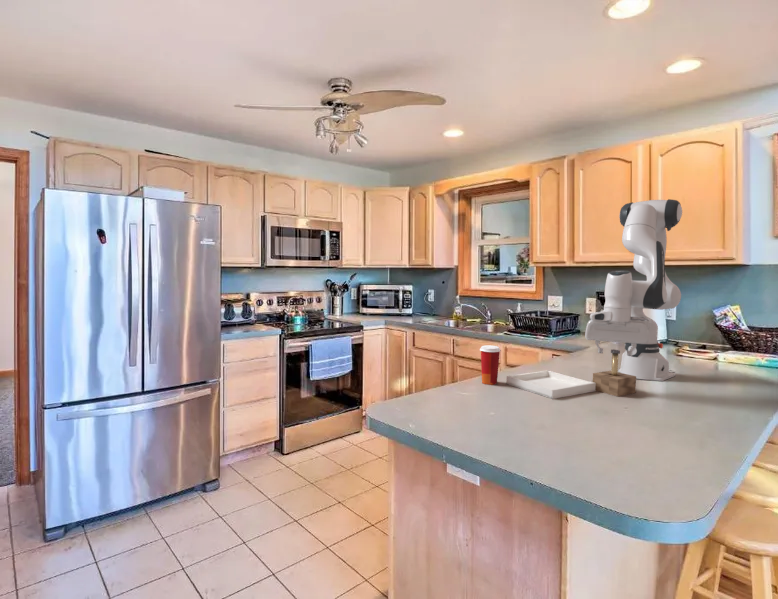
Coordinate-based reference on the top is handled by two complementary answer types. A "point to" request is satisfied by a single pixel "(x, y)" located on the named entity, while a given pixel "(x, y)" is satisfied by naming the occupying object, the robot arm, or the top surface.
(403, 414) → the top surface
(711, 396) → the top surface
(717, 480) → the top surface
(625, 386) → the walnut block
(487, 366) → the paper cup
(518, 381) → the off-white tray
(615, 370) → the brass pin
